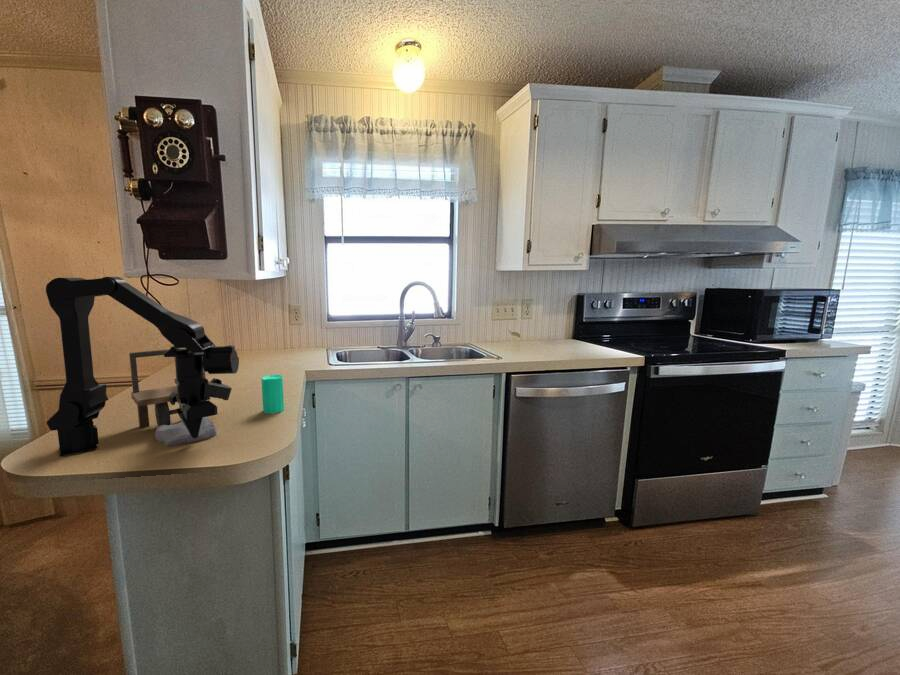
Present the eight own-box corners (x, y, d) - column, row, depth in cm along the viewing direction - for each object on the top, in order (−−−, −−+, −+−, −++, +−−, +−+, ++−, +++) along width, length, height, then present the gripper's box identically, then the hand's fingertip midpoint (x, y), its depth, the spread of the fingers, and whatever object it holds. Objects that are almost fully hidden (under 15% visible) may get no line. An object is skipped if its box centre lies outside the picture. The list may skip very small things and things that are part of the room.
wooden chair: (141, 437, 107) (133, 358, 105) (134, 426, 115) (127, 352, 113) (219, 421, 120) (214, 350, 117) (208, 412, 128) (203, 345, 125)
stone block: (221, 441, 110) (204, 426, 116) (221, 425, 109) (203, 410, 114) (169, 458, 101) (153, 440, 107) (168, 440, 99) (152, 423, 105)
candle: (274, 406, 134) (272, 369, 133) (288, 409, 132) (286, 371, 130) (258, 411, 129) (256, 372, 127) (272, 414, 126) (270, 374, 125)
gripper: (239, 376, 100) (243, 439, 102) (216, 364, 114) (219, 421, 116) (184, 383, 93) (189, 452, 95) (166, 370, 106) (171, 430, 108)
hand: (194, 437), depth 104 cm, fingers closed
